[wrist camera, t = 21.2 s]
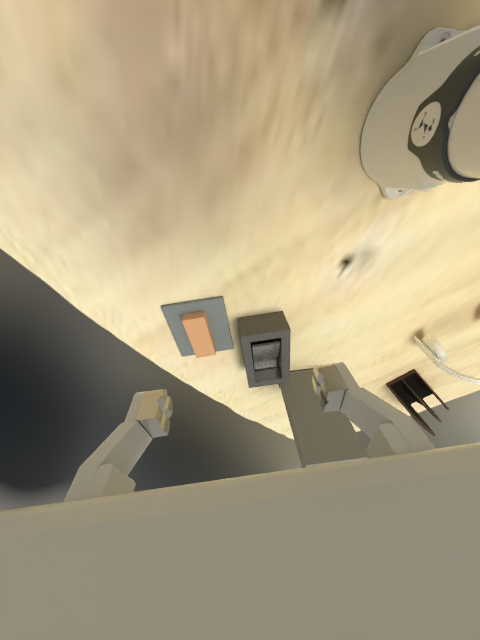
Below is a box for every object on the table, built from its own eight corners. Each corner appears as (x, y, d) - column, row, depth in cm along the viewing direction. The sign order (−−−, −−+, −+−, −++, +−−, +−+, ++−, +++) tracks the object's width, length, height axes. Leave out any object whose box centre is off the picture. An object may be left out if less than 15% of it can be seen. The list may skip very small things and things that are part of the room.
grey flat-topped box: (278, 384, 69) (302, 475, 49) (278, 372, 65) (305, 465, 45) (320, 379, 69) (361, 467, 49) (323, 366, 65) (369, 456, 45)
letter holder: (406, 402, 83) (435, 440, 71) (385, 383, 74) (415, 423, 62) (432, 389, 79) (468, 427, 67) (413, 368, 70) (451, 407, 58)
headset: (410, 346, 63) (467, 400, 49) (409, 331, 59) (469, 385, 45) (487, 315, 58) (575, 365, 44) (491, 297, 54) (589, 345, 40)
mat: (222, 296, 47) (222, 297, 47) (233, 346, 57) (233, 348, 56) (161, 305, 47) (160, 307, 47) (182, 354, 57) (182, 356, 56)
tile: (183, 314, 48) (181, 320, 46) (204, 310, 48) (204, 317, 46) (197, 350, 56) (196, 357, 54) (215, 347, 55) (215, 354, 53)
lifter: (251, 345, 48) (253, 352, 47) (279, 341, 48) (281, 348, 47) (253, 363, 59) (254, 370, 58) (276, 360, 59) (277, 366, 58)
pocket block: (237, 318, 51) (240, 336, 46) (282, 311, 51) (290, 329, 45) (246, 367, 62) (249, 387, 57) (283, 362, 62) (289, 381, 57)
